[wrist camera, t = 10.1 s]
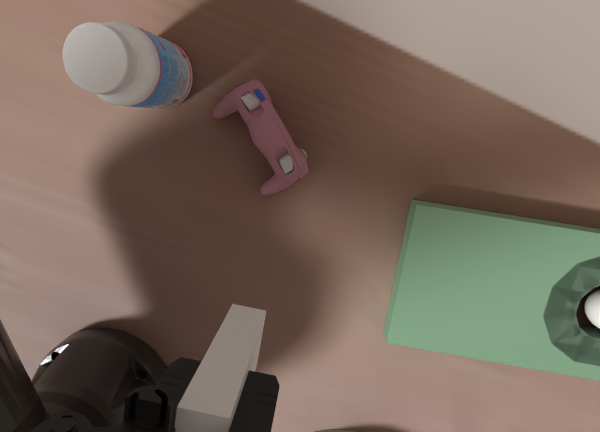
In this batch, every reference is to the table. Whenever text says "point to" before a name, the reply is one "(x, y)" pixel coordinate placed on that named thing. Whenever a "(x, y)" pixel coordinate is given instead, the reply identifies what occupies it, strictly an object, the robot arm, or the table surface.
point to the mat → (496, 289)
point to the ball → (593, 308)
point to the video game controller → (266, 134)
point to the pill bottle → (127, 65)
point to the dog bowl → (335, 430)
